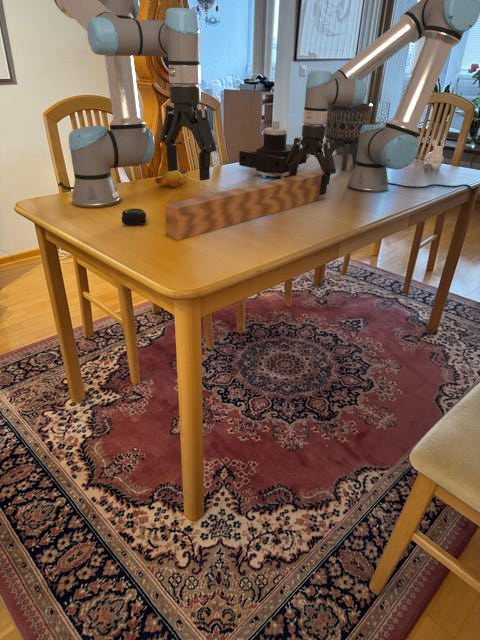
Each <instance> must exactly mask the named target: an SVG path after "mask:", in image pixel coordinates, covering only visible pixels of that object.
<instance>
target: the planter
mask: <svg viewBox="0 0 480 640" xmlns="http://www.w3.org/2000/svg"><path fill="white" fill-rule="evenodd" d="M373 107H374V106H373V104H372V103H367V102H363V103H362V104H361V105H353V106H352V105H328V111H327V120H326V124H324V126H325V127H326V128H325V136H324V139H325V142H324V143H331V152H332V155H333V154H334V153H335V151H336V149H338V148H340V147H342V154H341V166H340V170H341V172H345V171H347V167H348V166H347V165H348V159H349V154H348V152H349V150H350V151H351V153H352V154H351V157H352V158H351V159H352V160H351V161H352V166H353V167H355V165H356V158H357V151H358V143H359V134H360V131H361V127H362V126H363V125H370V121H371V116H372V112H373ZM324 158H325V155H324Z"/></svg>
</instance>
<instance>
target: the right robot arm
mask: <svg viewBox="0 0 480 640" xmlns="http://www.w3.org/2000/svg"><path fill="white" fill-rule="evenodd" d="M479 18H480V0H419V1H417V2H416V3H415V4H414V5H413V6H411V7H410V8H409V9H408V10H406V11H405V12H404V13H402V15H400V16H399V19H398V22H396V24H394V25H393V26H391V27H390V28H389V29H388V30H386V31H385V32H384V33H383V34H381V35H380V36H378V37H377V38H376V39H375V40H374V41H372V42H371V43H370V44H369V45H367V46H366V47H365V48H364V49H362V50H361V51H360V52H359V53H357V54H356V55H355V56H354V57H352V58H351V59H350V60H348V62H347V63H345V64H344V65H342V66H341V67H340V68H339V69H337V70H336V71H335V72H333V73H332V71H330V70H327V71H326V70H310V71H309V72H308V74H307V78H306V84H305V95H304V97H305V98H304V110H303V117H302V123H303V125H302V126H301V137H300V136H299V137H294V139H293V144H292V145H293V146H292V148H291V151H290V153H289V155H288V157H287V159H286V161H285V164H287V165H288V166H289V175H288V177H291V176H296V175H298V171H297V167H295V166H296V165H297V163H298V162H299V161H300V160H301V159H302V157H303V156H304V155H305V154H310V156H313V157H314V158H316V161H317V163H318V164H319V166H320V168H321V170H322V173H324V175H322V177H321V185H320V194H319V195H323V194H324V195H327V190H328V189H327V188H328V185H330V181H331V175H335V174H336V173H337V169H336V166H335V165H336V164H335V160H334V157H333V154H332V152H331V143H325V142H324V139H325V128H326V127H325V125H326V120H327V111H328V105H352V106H353V105H361V104H362V103H365V102H364V101H365V100H366V97H367V93H368V87H367V83H366V81H365V80H364V79H365V78H367V77H368V76H369V75H370V74H372V72H374V71H375V70H377V69H378V68H380V67H381V66H382V65H383V64H385V62H387V61H389V60H390V59H391V58H392V57H393V56H395V55H396V54H397V53H398V52H400V51H401V50H403V48H405V47H406V46H408V45H409V44H410V43H411V44H414V43H416V42H418V41H419V40H421V39H422V38H423V37H424V42H423V45H422V48H421V50H420V52H419V55H418V57H417V59H416V61H415V65H414V67H413V69H412V72H411V74H410V77H409V79H408V81H407V84H406V86H405V89H404V90H403V94H402V95H401V98H400V101H399V103H398V105H397V107H396V111H395V113H394V115H393V117H392V118H391V119H390V120H387V121H386V122H385V124H369V125H363V126H362V127H361V131H360V134H359V143H358V151H357V158H356V165H355V166H354V167H353V171H351V174H350V176H349V179H348V182H347V187H348V188H349V189H351V190H354V191H358V192H363V193H364V192H365V193H382V192H386V191H388V189H389V186H393V187H400V188H405V189H427V188H430V187H440V188H441V187H443V188H451V189H454V188H462V187H466V188H468V189H469V190H472V189H473V188H472V186H471V185H469V184H465V183H462V184H457V185H449V184H441V183H431V184H427V185H421V186H418V185H416V186H415V185H404V184H399V183H394V182H389V178H388V173H387V172H388V171H387V169H391V170H402V169H405V168H406V167H409V165H411V164H412V163H413V162H414V160H415V159H416V157H417V155H418V152H419V145H418V144H419V142H418V137H419V135H420V130H419V128H418V126H419V123H420V121H421V120H422V117H423V114H424V112H425V110H426V108H427V106H428V103H429V101H430V98H431V96H432V94H433V92H434V90H435V88H436V85H437V82H438V80H439V78H440V75H441V73H442V71H443V69H444V66H445V64H446V62H447V60H448V57H449V55H450V53H451V51H452V49H453V48H454V47H456V46H457V45H459V44H460V43H461V40H462V38H463V36H464V33H465V32H467V31H469V30H470V29H472V28H473V27H474V25H476V23H477V22H478V19H479ZM299 147H300V148H301V149H300V150H299V153H298V154H297V155H296V153H297V151H298V149H299ZM295 155H296V156H295ZM324 156H325V158H324Z"/></svg>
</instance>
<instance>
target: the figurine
mask: <svg viewBox="0 0 480 640" xmlns="http://www.w3.org/2000/svg"><path fill="white" fill-rule="evenodd" d="M437 144H438V142H437V139H436V138H434V139H433V140H432V141H431V146H432V148H433V150H432V151H430V152H428V153H427V154H426V155H425V157H424V161H423V163H422V167H423V168H424V169H433V170H437V171H439V168H440V167H441V165H442V162H443V161H444V155H443V154H444V151H443V149H444V147H445V145H446V143H445V142H444V141H443V140H442V139H440V145H437Z"/></svg>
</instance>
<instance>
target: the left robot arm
mask: <svg viewBox="0 0 480 640" xmlns="http://www.w3.org/2000/svg"><path fill="white" fill-rule="evenodd" d="M53 1H54V3H55V5H56V7H57V8H58V9H59V11H60V12H61V13H62V14H64V15H65V16H66V17H67V18H70V19H73V20H75V21H76V22H77V24H79V25H80V26H81V27H82V28H83V29H84V30H85V31H86V33H87V34H86V36H87V41H88V44H89V46H90V49H91V51H92V52H93V54H95V55H98V56H104V62H105V71H106V77H107V83H108V89H109V90H108V91H109V98H110V103H111V111H112V119H111V121H110V122H109V129H108V130H107V129H106V127H105V126H104V125H89V126H82V127H79V128H75V129H73V130H72V131H70V132H69V134H68V146H69V147H68V149H69V151H70V157H71V163H72V169H73V175H74V184H73V186H66V184H64V183H63V182H62V181H59V182H58V186H61V187H63V189H66V190H72V195H71V196H72V197H71V200H72V204H73V205H74V206H76V207H79V208H85V209H98V208H106V207H111V206H114V205H116V204H119V203H120V201H121V198H120V194H119V191H118V189H117V187H116V185H115V182H114V180H113V177H112V169H117V168H118V169H119V168H128V167H140V166H144V165H148V164H149V163H150V162H151V161H152V160H153V157H154V153H155V138H154V134H153V131H152V129H150V128H148V127H147V126H146V121H144V119H142V117H141V114H140V113H141V112H140V103H139V96H138V87H137V80H136V71H135V64H134V62H135V61H134V57H158V58H167V65H168V81H169V84H171V86H170V85H169V102H170V103H171V104H167V105H165V116H164V119H163V124H162V127H161V128H162V129H161V132H160V133H161V134H160V138H159V140H160V142H161V143H164V145H165V150H166V151H165V152H166V158H167V159H166V160H167V172H168V171H179V170H178V167H179V166H178V151H177V145H176V144H177V142H176V141H177V139H178V137H179V134H180V132H181V130H182V128H183V127H184V128H187V130H189V131H190V132H191V134H192V136H193V138H194V140H195V142H196V145H197V146H198V149H199V150H200V152H199V153H198V160H199V161H198V166H199V168H198V169H199V174H198V175H199V181H206V180H207V181H208V180H210V179H211V178H210V174H211V173H210V167H211V153H213V152H216V151H217V145H216V142H215V138H214V135H213V132H212V128H211V125H210V122H209V117H208V110H207V109H206V108H200V109H199V106H198V105H199V104H200V103H201V102H202V101H201V100H202V99H201V97H202V95H201V88H200V86H199V85H200V84H201V65H200V63H201V59H200V57H201V52H200V51H201V49H200V45H201V44H200V32H201V30H200V29H201V28H200V23H199V13H198V11H197V10H196V9H194V8H188V7H170V8H167V9H166V11H165V19H164V20H156V19H155V20H152V19H137V18H138V17H139V14H140V9H139V8H140V0H53Z"/></svg>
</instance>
